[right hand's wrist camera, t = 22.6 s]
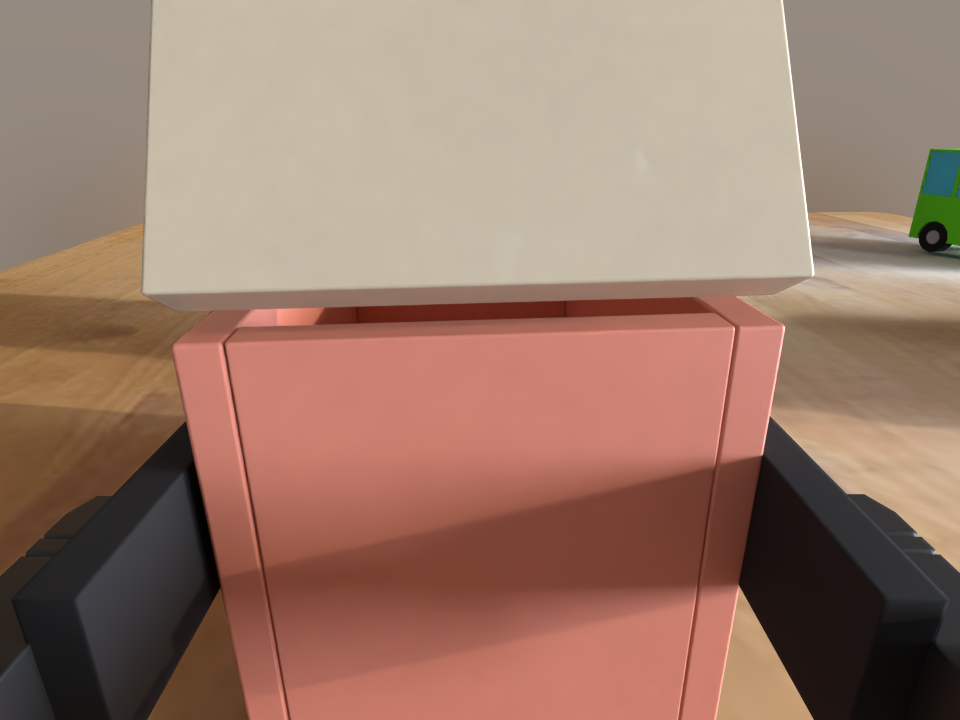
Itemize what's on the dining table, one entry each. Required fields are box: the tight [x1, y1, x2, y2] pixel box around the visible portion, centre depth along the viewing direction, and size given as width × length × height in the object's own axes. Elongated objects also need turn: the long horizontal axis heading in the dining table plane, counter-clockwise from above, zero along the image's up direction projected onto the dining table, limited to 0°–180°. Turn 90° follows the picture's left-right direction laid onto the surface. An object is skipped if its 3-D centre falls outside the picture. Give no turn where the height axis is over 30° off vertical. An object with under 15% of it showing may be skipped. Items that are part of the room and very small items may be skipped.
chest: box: [171, 296, 785, 720], centre depth 17 cm, size 14×9×10 cm
